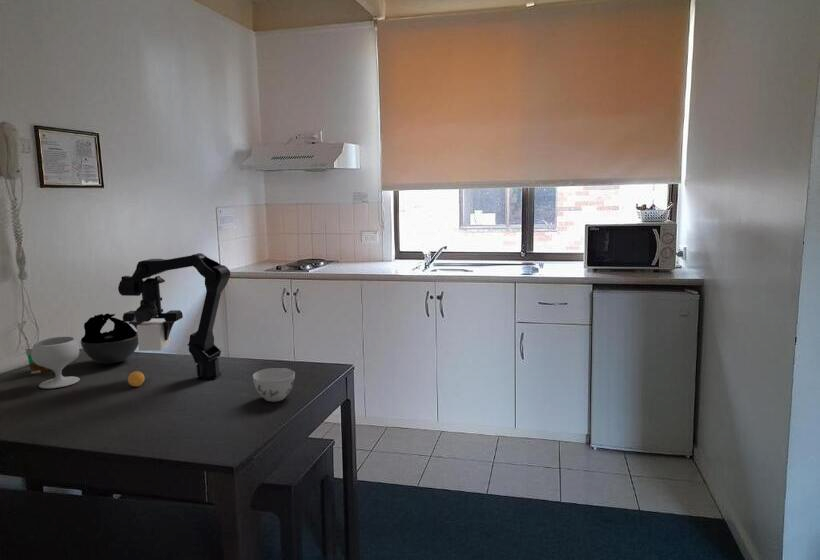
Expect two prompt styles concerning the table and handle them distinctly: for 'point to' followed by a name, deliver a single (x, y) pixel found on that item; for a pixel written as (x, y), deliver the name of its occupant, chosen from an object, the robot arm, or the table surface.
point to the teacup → (274, 383)
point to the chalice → (56, 359)
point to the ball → (136, 378)
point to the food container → (34, 367)
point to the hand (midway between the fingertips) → (154, 340)
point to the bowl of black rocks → (108, 340)
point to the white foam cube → (152, 336)
